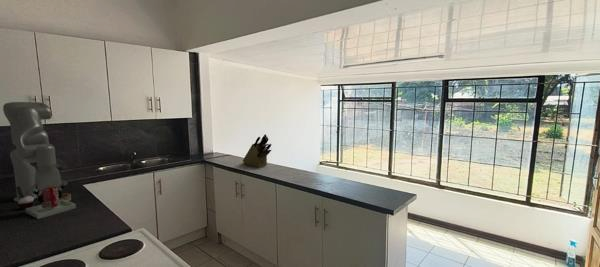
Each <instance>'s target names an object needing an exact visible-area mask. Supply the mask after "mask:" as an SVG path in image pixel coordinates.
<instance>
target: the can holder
mask: <svg viewBox="0 0 600 267" xmlns="http://www.w3.org/2000/svg"><path fill="white" fill-rule="evenodd" d="M59 200H66V201H69V202H71V200H72V195H71V193H62V196H61V198H59Z"/></svg>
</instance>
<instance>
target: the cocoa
mask: <svg viewBox="0 0 600 267" xmlns="http://www.w3.org/2000/svg"><path fill="white" fill-rule="evenodd" d="M15 188H17V191H18V193H19V196H20V198H21V199H20V200H19V201H17V206H18V208H19V209H21V210H26V208H30V207H34V202H35V201H34V200H35V199H34V198H33V197H32V196H26V197H24V195H23V193H22V191H21V188H20V186H18V187H16V186H15ZM17 191H16V192H17Z"/></svg>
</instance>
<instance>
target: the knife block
mask: <svg viewBox="0 0 600 267" xmlns="http://www.w3.org/2000/svg"><path fill="white" fill-rule="evenodd" d="M268 141H269V137H268V136H267V134H263V136H262V138H261V137H260V136H258V137H257V138H256V140H255V142H254V143H252V144H251V146H250V148H249V149H248V151H247V153H246V154H245V156H244V158H243V160H242V162H243V163H244V164H245V165H249V166H252V167H256V168H261V167H266V166H267V164H268V155H270V153H271V151H272V149H270V148H271V147H272V143H268Z"/></svg>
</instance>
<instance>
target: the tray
mask: <svg viewBox="0 0 600 267" xmlns="http://www.w3.org/2000/svg"><path fill="white" fill-rule="evenodd" d="M76 209H77V204H76V203H74V202H72V201H66V200H59V205H58V206H57V207H55V208H51V209H45V208H42V204H38V205H36V206H35V205H33V206H32V207H30V208H26V209H25V213H26V214H27V215H29V216H31V217H33V218H35V219H37V220H39V219H42V218H46V217H50V216H53V215H57V214H61V213H65V212H68V211H72V210H76Z"/></svg>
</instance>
